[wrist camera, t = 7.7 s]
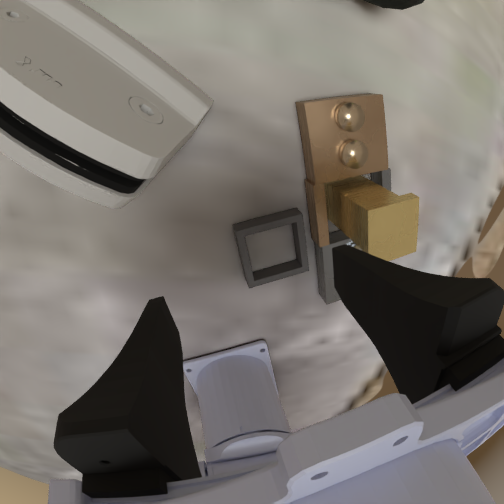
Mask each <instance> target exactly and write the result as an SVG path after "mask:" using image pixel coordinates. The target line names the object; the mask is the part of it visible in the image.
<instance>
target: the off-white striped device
mask: <svg viewBox="0 0 504 504" xmlns="http://www.w3.org/2000/svg"><path fill="white" fill-rule="evenodd" d="M213 101H214V100H213V99H211V98H210V97H209V96H208V95H207V94H205V93H204V92H203V91H202V90H201V89H199V88H198V87H197V86H196V85H194V84H193V83H192V82H191V81H190V80H188V79H187V78H186V77H185V76H183V75H182V74H181V73H179V72H178V71H177V70H176V69H174V68H173V67H172V66H171V65H169V64H168V63H167V62H165V61H164V60H163V59H161V58H160V57H159V56H158V55H156V54H155V53H154V52H152V51H151V50H150V49H148V48H147V47H146V46H144V45H143V44H141V43H140V42H139V41H137V40H136V39H135V38H133V37H132V36H130V35H129V34H128V33H126V32H125V31H123V30H122V29H121V28H119V27H118V26H116V25H115V24H113V23H112V22H110V21H109V20H108V19H106V18H105V17H103V16H102V15H100V14H99V13H97V12H96V11H94V10H93V9H91V8H90V7H88V6H86V5H85V4H83V3H82V2H80V1H79V0H0V152H1V153H2V154H4V155H5V156H6V157H8V158H9V159H11V160H12V161H14V162H15V163H17V164H18V165H20V166H22V167H23V168H25V169H26V170H28V171H30V172H31V173H33V174H35V175H37V176H38V177H40V178H42V179H43V180H45V181H47V182H49V183H51V184H53V185H55V186H57V187H59V188H61V189H63V190H65V191H67V192H70V193H72V194H75V195H77V196H79V197H82V198H84V199H86V200H89V201H91V202H94V203H97V204H100V205H103V206H105V207H108V208H111V209H119V208H122V207H123V206H125V205H126V204H128V203H129V202H130V201H132V200H133V199H134V198H136V197H137V196H138V195H139V194H141V192H142V191H143V190H144V189H145V188H146V186H147V185H148V184H149V183H150V182H151V181H152V180H153V178H154V177H155V176H156V175H157V174H158V173H159V172H160V170H161V169H162V168H163V167H164V166H165V165H166V164H167V163H168V162H169V160H170V159H171V158H172V157H173V156H174V155H175V154H176V153H177V152H178V151H179V149H180V148H181V147H182V146H183V145H184V144H185V143H186V142H187V141H188V140H189V139H190V138H191V137H192V135H193V133H194V132H195V130H196V129H197V127H198V126H199V124H200V123H201V121H202V120H203V118H204V117H205V115H206V114H207V112H208V111H209V109H210V108H211V106H212V103H213Z"/></svg>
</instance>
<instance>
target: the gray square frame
mask: <svg viewBox="0 0 504 504" xmlns="http://www.w3.org/2000/svg"><path fill="white" fill-rule="evenodd" d="M291 223H292V226H293V233H294V240H295V247H296V255H297V260H294V261H290V262H287V263H283V264H280V265H276V266H273V267H270V268H266V269H263V270H259V271H256V272H252V268H251V264H250V259H249V255H248V250H247V246H246V241H245V237H244V236H247V235H251V234H254V233H258V232H261V231H265V230H269V229H273V228H276V227H280V226H284V225H287V224H291ZM233 228H234V232H235V237H236V241H237V245H238V249H239V253H240V257H241V262H242V266H243V270H244V274H245V278H246V281H247V284H248V286H249V288H252V287H255V286H259V285H262V284H266V283H269V282H272V281H276V280H279V279H283V278H286V277H289V276H293V275H296V274H299V273H303V272H306V271H309V265H308V256H307V247H306V239H305V231H304V223H303V215H302V213H301V212H300V211H299V210H298V209H297V208H295V209H291V210H287V211H283V212H279V213H275V214H272V215H268V216H264V217H260V218H256V219H253V220H249V221H245V222H242V223H238V224H234V225H233Z"/></svg>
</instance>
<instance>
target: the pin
mask: <svg viewBox="0 0 504 504" xmlns="http://www.w3.org/2000/svg"><path fill="white" fill-rule="evenodd" d="M324 185H325V194H326V204H327V215H328V219H329V220H330V221H331V222H332V223H333V224H334V225H335V226H337V227H338V228H339V229H340V230H341V231H342V232H343V233H344V234H345V235H347V236H348V237H349V238H350V239H351V240H352V241H353V242H354V243H355V244H356V245H357V246H359V247H360V248H361V249H362V251H364V252H366V253H369V254H371V255H374V256H376V257H379V258H381V259H384V260H386V261H390V260H393V259H396V258H399V257H402V256H405V255H407V254H410V253H413V252H416V246H417V232H418V215H419V197H418V196H416V195H414V194H412V193H409V194H405V195H401V196H398V195H396V194H395V193H393V192H391V191H389V190H387V189H386V188H384V187H382V186H380V185H378V184H376V183H374V182H373V181H371V180H369V179H367V178H365V177H363V176H361V175H359V176H354V177H350V178H345V179H341V180H336V181H332V182H328V183H324Z"/></svg>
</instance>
